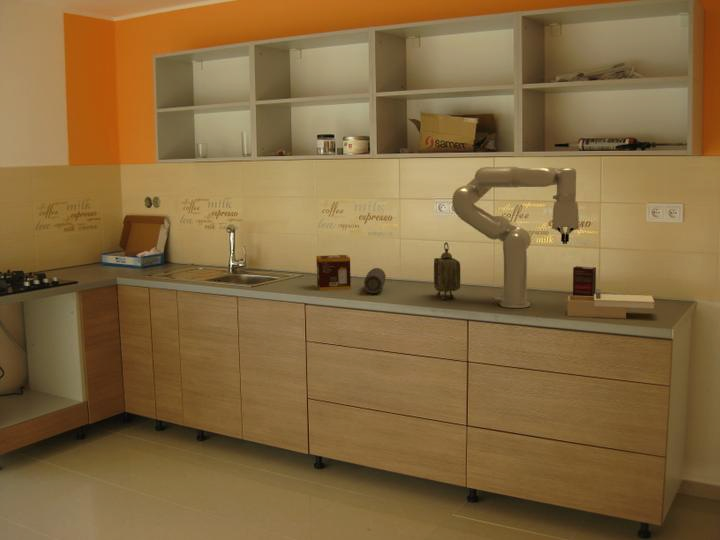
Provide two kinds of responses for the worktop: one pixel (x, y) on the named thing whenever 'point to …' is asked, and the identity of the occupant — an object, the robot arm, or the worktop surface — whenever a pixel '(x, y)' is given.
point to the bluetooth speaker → (374, 280)
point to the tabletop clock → (446, 273)
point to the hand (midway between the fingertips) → (564, 243)
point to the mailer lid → (623, 300)
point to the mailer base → (592, 308)
